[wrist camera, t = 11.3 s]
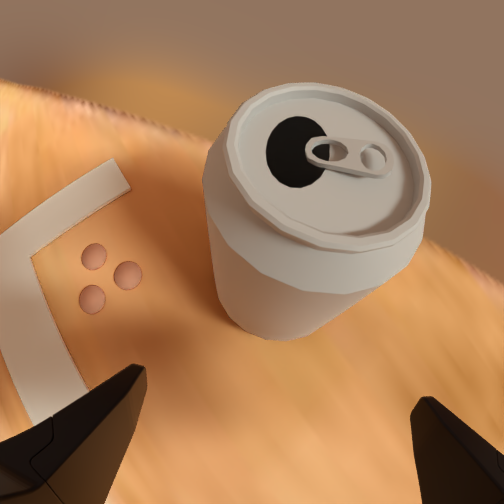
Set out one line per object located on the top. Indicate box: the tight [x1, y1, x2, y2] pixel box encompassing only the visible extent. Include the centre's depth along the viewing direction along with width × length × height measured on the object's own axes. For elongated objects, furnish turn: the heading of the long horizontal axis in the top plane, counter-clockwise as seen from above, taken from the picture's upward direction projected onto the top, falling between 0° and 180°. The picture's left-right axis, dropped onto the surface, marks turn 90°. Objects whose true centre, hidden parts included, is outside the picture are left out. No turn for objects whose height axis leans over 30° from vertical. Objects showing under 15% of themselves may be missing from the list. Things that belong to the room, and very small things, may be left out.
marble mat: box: [0, 158, 142, 426], centre depth 18 cm, size 14×14×1 cm
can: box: [202, 83, 431, 341], centre depth 14 cm, size 8×8×12 cm
